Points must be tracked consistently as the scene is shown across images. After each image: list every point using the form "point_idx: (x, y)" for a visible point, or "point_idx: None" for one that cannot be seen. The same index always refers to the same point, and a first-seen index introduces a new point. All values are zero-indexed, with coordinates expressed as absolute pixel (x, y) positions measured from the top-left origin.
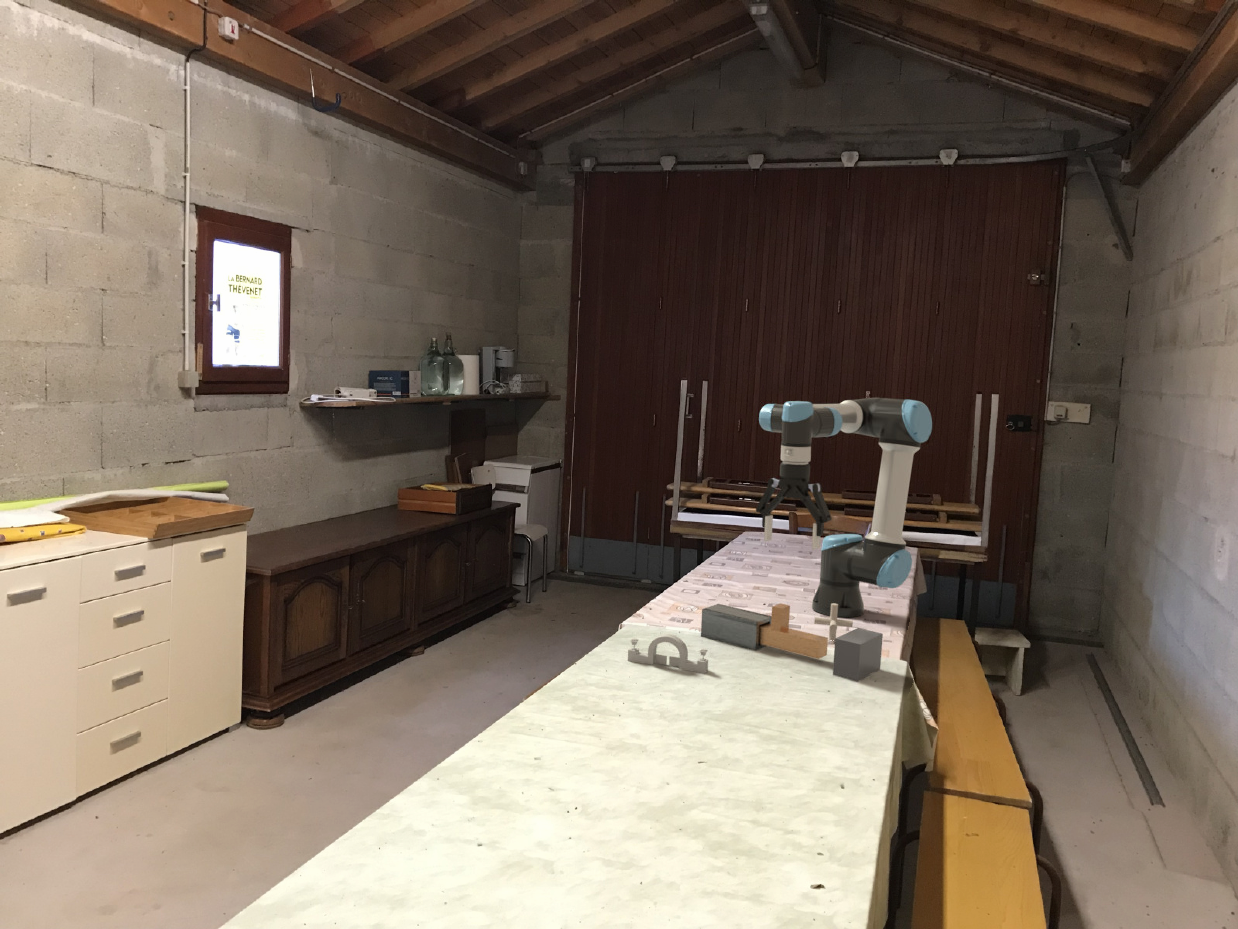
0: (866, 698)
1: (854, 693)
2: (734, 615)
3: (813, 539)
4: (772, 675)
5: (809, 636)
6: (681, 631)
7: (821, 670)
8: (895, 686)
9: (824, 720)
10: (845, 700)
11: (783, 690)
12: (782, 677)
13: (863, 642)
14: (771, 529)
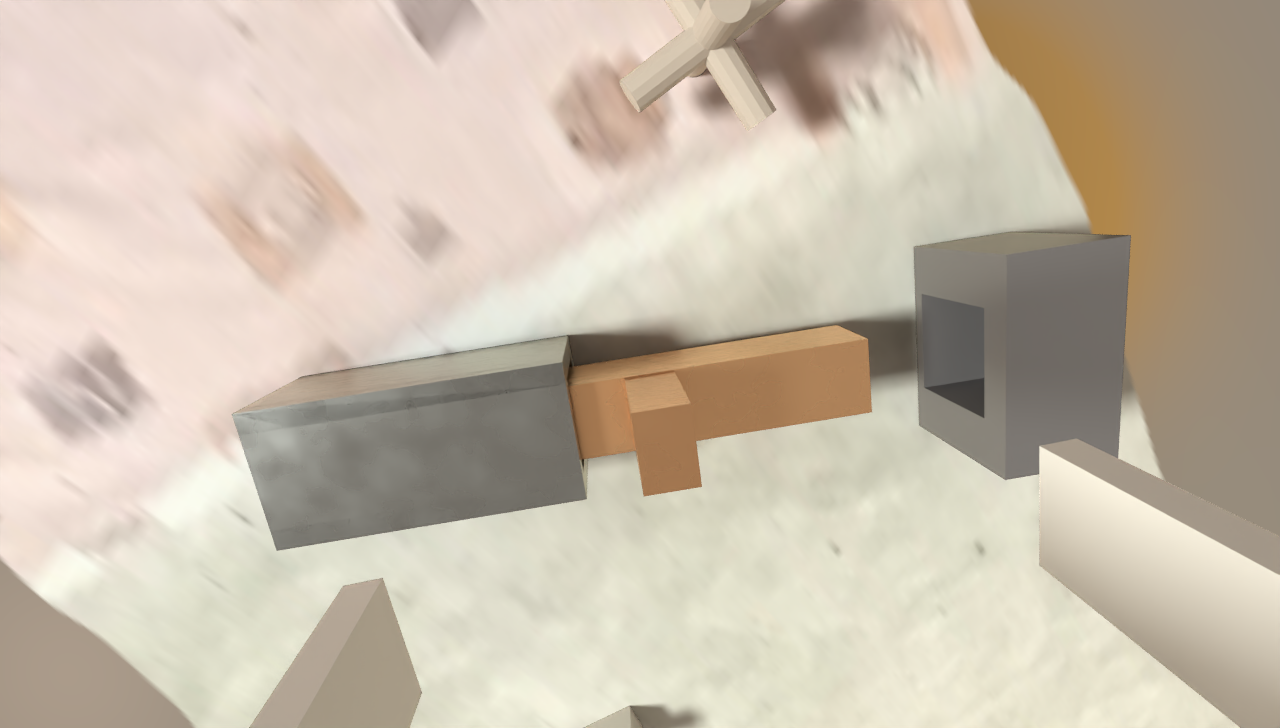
0: None
1: None
2: (445, 502)
3: (1161, 647)
4: (788, 584)
5: (805, 391)
6: (239, 505)
7: (869, 419)
8: None
9: (1071, 714)
10: None
11: (885, 648)
12: (820, 573)
13: (1117, 427)
14: (323, 713)
